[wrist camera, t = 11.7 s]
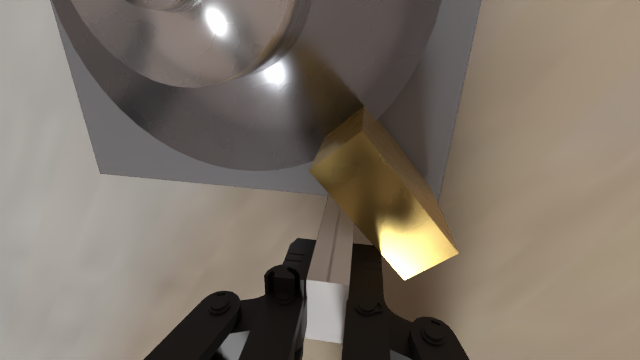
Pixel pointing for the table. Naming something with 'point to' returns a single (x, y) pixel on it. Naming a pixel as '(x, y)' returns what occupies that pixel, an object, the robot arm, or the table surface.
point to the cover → (196, 36)
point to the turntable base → (399, 119)
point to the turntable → (306, 117)
